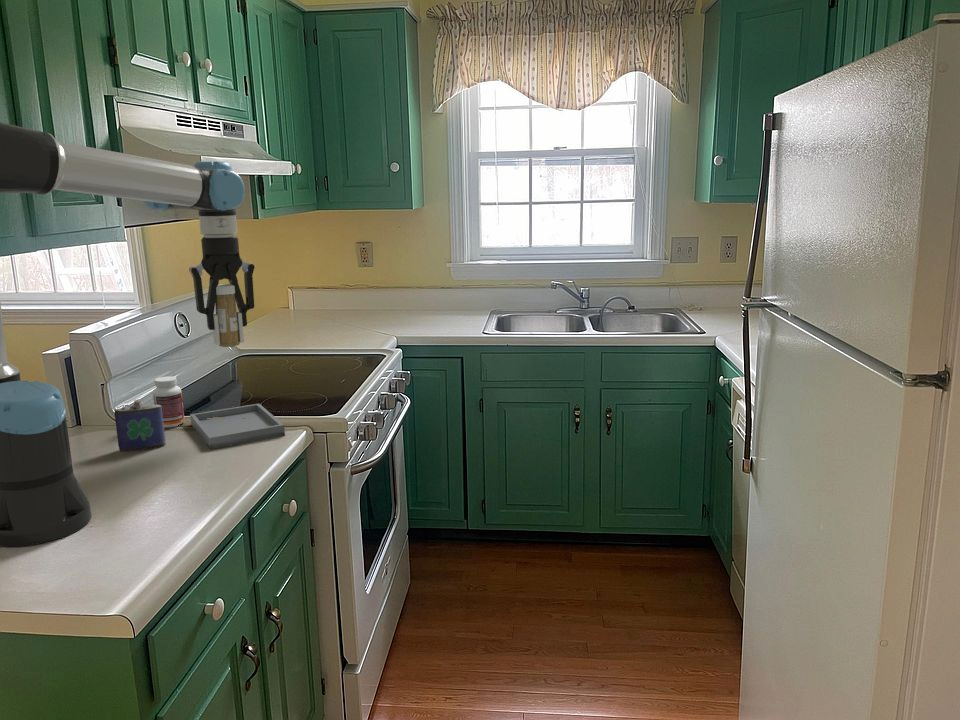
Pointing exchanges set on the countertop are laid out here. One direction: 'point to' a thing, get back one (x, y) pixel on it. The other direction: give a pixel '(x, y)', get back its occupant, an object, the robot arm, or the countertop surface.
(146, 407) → the flask
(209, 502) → the countertop surface
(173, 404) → the pill bottle
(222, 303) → the sprinkles bottle
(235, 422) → the tray
